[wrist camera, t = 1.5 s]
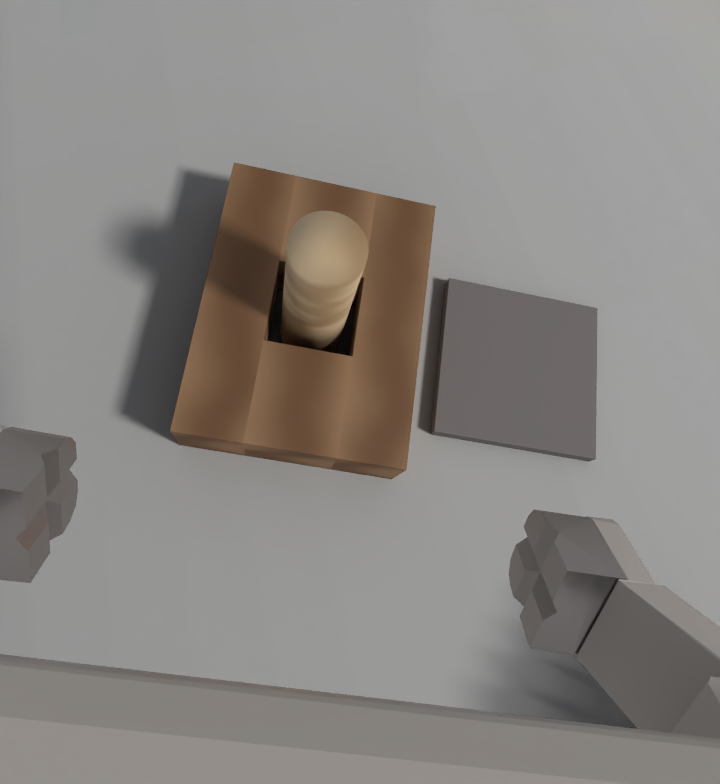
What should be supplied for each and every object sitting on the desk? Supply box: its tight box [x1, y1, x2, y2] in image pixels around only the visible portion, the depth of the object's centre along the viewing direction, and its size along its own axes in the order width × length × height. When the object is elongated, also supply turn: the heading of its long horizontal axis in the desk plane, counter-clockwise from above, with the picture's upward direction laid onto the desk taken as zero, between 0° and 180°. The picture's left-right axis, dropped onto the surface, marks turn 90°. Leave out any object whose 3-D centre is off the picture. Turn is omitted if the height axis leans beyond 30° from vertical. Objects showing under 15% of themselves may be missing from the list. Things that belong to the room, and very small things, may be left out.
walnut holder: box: [170, 163, 435, 479], centre depth 33 cm, size 12×16×4 cm
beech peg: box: [280, 211, 369, 353], centre depth 30 cm, size 4×4×10 cm
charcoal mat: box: [431, 278, 597, 461], centre depth 36 cm, size 10×10×1 cm
